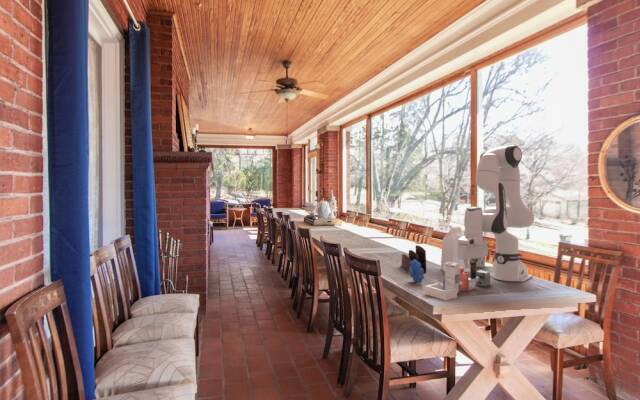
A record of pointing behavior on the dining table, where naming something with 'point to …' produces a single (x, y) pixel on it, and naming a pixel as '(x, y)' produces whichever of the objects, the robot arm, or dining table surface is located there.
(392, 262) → the dining table surface
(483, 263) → the coffee box
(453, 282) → the syrup box
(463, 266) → the milk
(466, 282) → the linear slider rail
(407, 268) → the letter holder
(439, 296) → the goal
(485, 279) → the grey hollow block
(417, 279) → the grapes
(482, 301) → the dining table surface
